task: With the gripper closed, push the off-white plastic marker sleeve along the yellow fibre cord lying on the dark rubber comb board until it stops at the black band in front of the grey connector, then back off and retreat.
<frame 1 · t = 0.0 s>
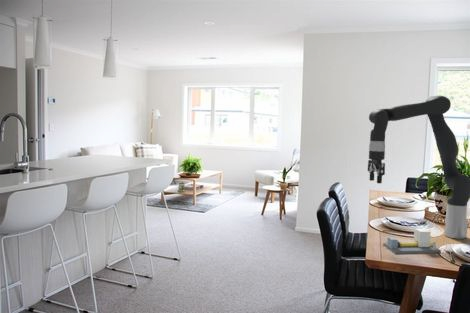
hand: (375, 181, 207), 29 cm above the table, fingers open, 8 cm apart
comb board: (411, 248, 193), on the table
sleeve: (421, 237, 193), point 5 cm above the table, slide at 0.0 cm
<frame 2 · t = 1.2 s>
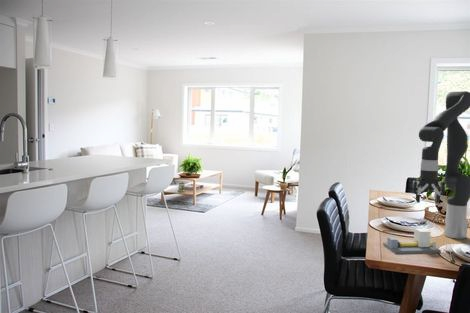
hand: (427, 202, 195), 21 cm above the table, fingers open, 8 cm apart
nothing on the table moved.
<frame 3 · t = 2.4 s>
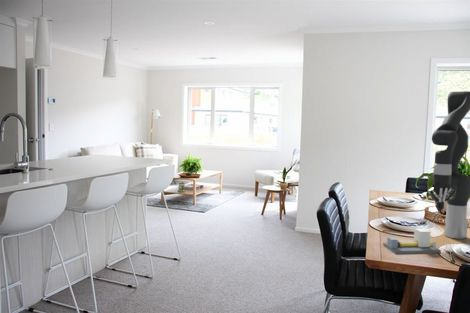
hand: (439, 209, 193), 19 cm above the table, fingers closed
nothing on the table moved.
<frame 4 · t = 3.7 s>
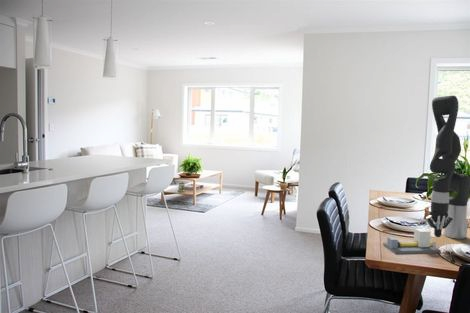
hand: (437, 236, 194), 6 cm above the table, fingers closed
nothing on the table moved.
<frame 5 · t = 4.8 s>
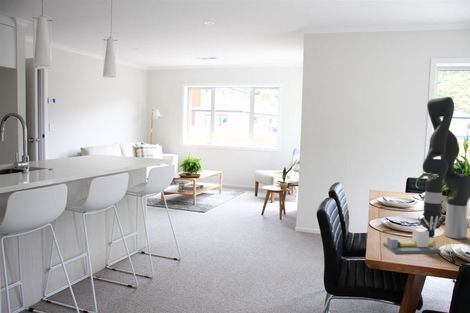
hand: (430, 237, 193), 6 cm above the table, fingers closed
sleeve: (420, 237, 193), point 5 cm above the table, slide at 0.8 cm, touching gripper
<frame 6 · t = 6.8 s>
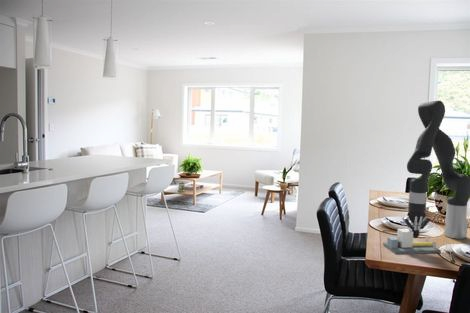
hand: (415, 237, 193), 6 cm above the table, fingers closed
sleeve: (404, 238, 192), point 5 cm above the table, slide at 8.5 cm, touching gripper
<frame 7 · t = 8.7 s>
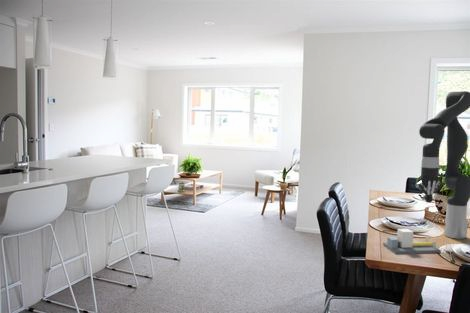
hand: (428, 202, 195), 22 cm above the table, fingers closed
sleeve: (404, 238, 192), point 5 cm above the table, slide at 8.5 cm
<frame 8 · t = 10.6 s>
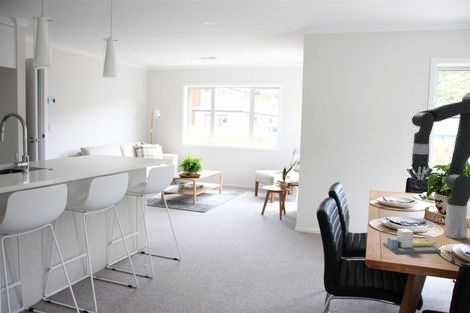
hand: (418, 187, 205), 27 cm above the table, fingers closed
nothing on the table moved.
at the end: sleeve slide at 8.5 cm; sleeve 0.5 cm from the target spot, resting on comb board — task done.
